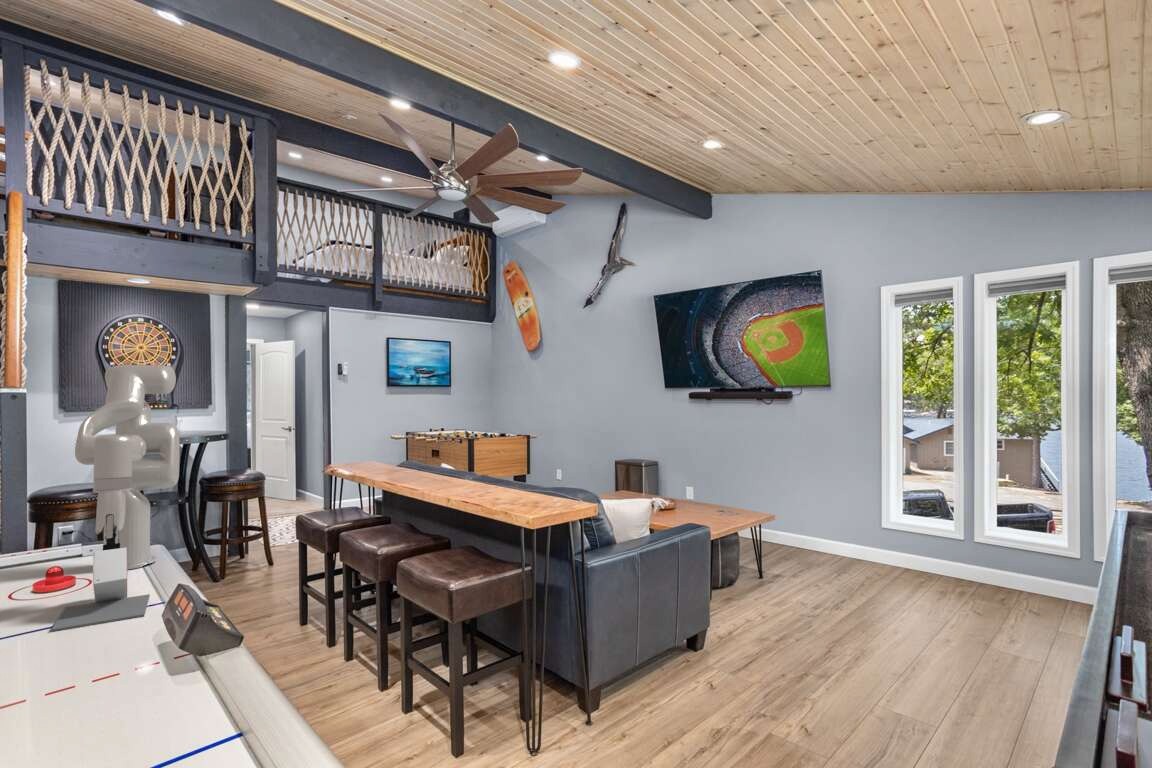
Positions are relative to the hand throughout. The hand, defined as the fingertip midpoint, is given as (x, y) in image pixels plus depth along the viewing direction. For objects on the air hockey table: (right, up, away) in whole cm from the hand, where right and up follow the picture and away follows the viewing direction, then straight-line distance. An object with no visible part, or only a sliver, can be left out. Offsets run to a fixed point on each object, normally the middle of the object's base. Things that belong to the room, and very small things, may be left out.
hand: (111, 560), depth 144 cm
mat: (+5, -10, -8) cm, 14 cm away
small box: (-1, -7, +1) cm, 7 cm away
